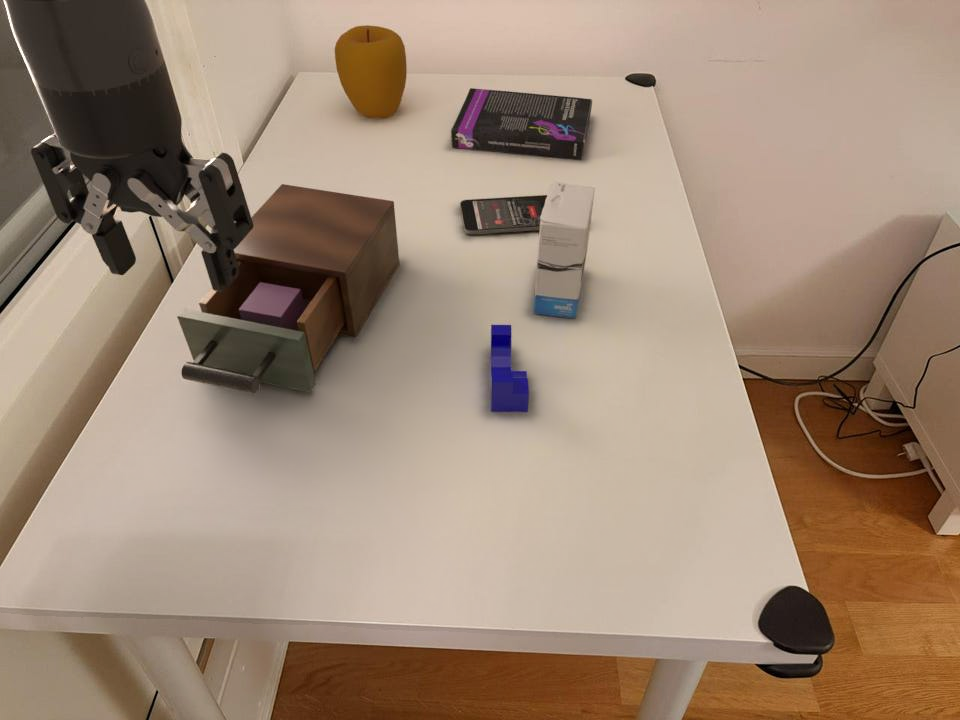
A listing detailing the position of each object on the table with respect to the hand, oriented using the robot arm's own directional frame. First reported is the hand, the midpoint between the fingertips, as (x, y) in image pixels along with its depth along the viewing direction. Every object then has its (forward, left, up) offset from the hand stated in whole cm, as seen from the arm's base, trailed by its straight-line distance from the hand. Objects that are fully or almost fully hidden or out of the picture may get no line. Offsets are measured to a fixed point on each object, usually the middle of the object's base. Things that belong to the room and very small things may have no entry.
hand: (174, 276), depth 55 cm
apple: (+50, +44, -18) cm, 69 cm away
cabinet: (+18, +12, -18) cm, 28 cm away
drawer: (+8, +5, -17) cm, 19 cm away
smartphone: (+45, +7, -18) cm, 49 cm away
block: (+10, +6, -16) cm, 20 cm away
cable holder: (+23, -13, -18) cm, 32 cm away
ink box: (+37, -7, -18) cm, 42 cm away
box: (+62, +23, -18) cm, 69 cm away
